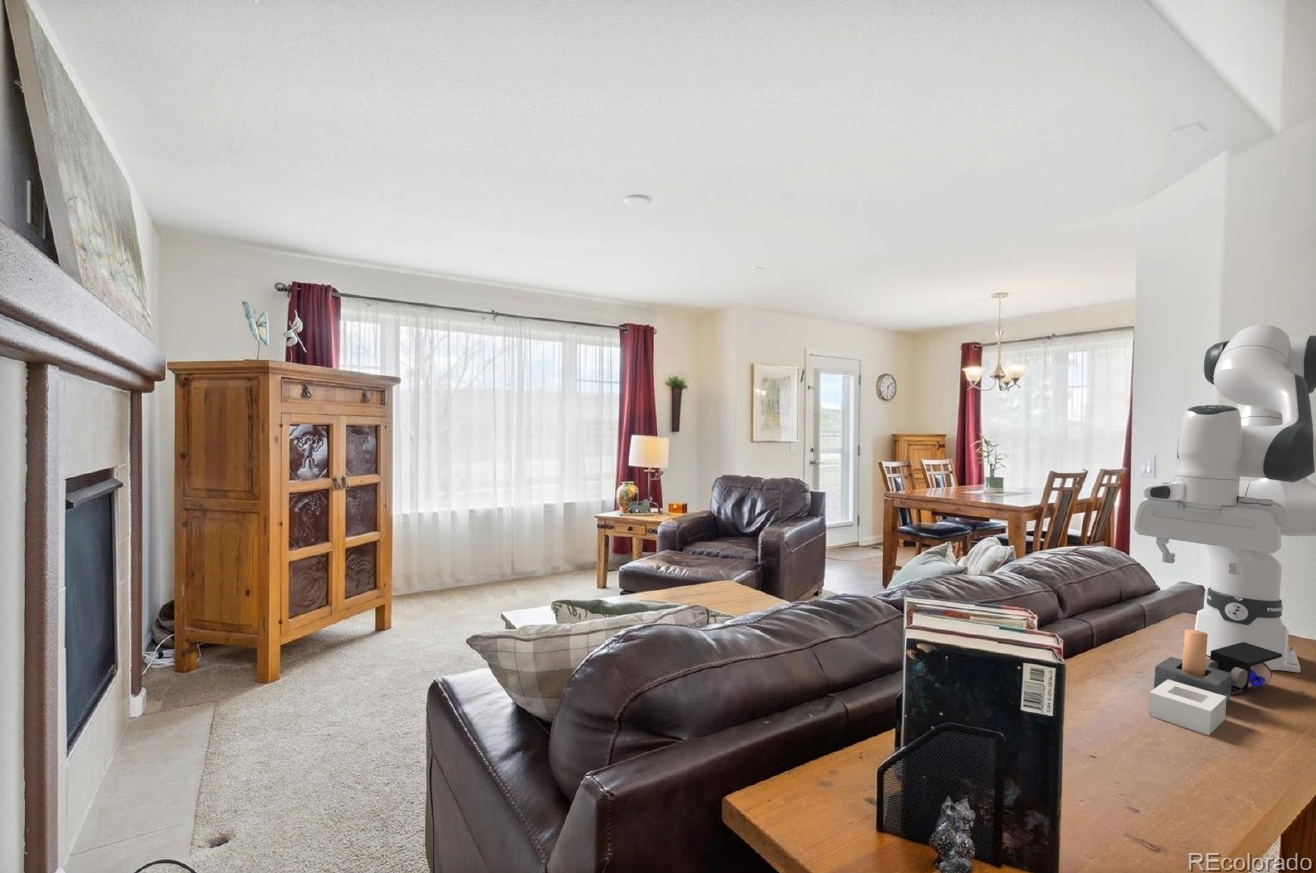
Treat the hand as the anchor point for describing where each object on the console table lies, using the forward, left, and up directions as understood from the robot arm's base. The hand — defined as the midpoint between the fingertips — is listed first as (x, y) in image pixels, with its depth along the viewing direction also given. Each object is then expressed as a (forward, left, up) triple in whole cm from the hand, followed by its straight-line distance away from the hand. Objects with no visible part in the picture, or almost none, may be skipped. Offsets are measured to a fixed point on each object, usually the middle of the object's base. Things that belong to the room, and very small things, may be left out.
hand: (1200, 568), depth 114 cm
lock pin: (0, 0, -24) cm, 24 cm away
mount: (0, 0, -24) cm, 24 cm away
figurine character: (-14, +4, -24) cm, 28 cm away
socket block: (+12, +2, -24) cm, 27 cm away
